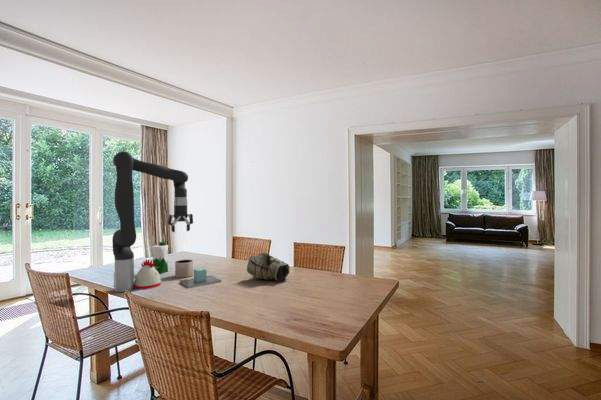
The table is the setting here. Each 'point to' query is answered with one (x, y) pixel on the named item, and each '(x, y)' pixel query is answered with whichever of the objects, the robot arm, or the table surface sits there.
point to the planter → (184, 268)
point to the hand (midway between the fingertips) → (180, 231)
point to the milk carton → (160, 257)
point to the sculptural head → (267, 267)
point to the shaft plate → (192, 283)
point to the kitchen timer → (147, 276)
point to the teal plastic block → (200, 275)
